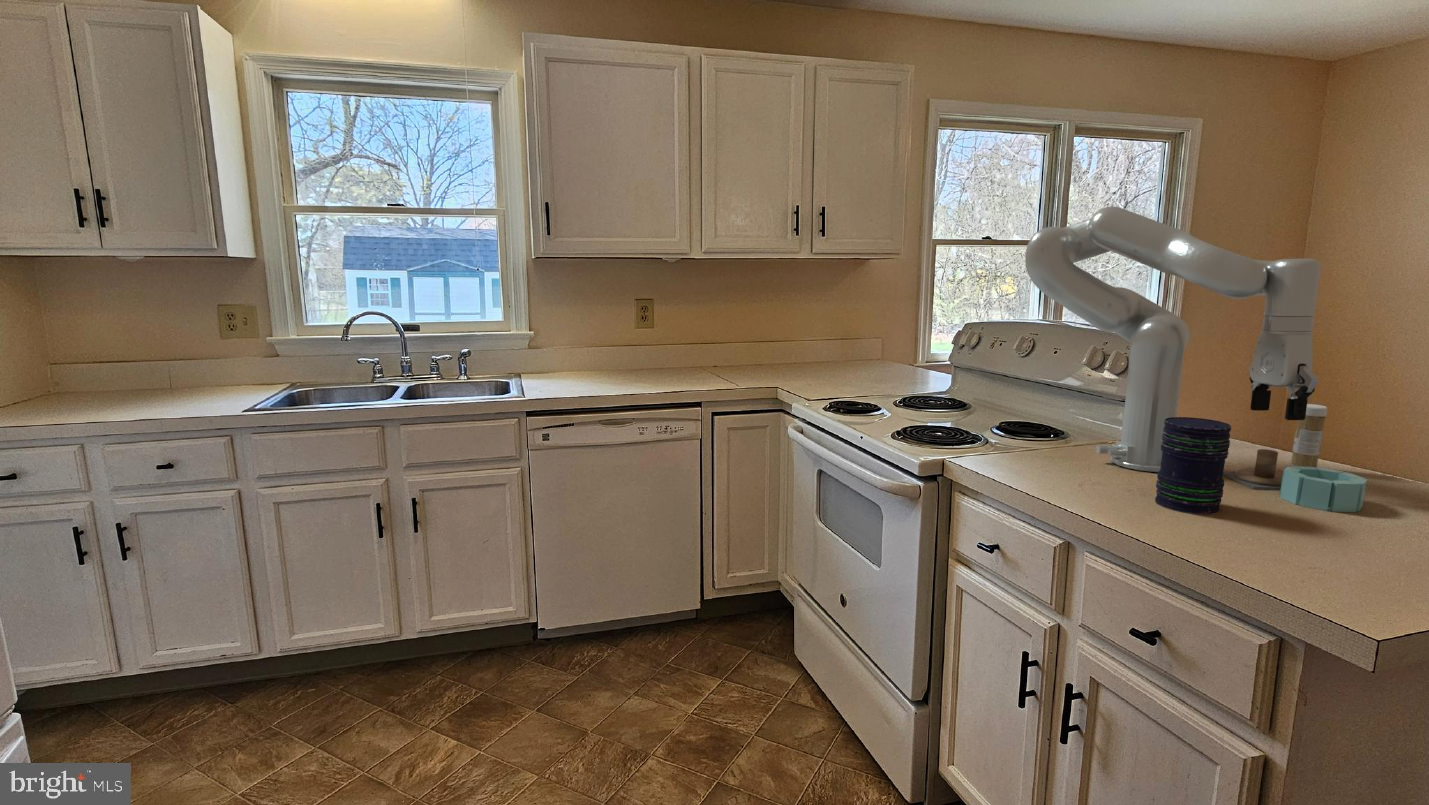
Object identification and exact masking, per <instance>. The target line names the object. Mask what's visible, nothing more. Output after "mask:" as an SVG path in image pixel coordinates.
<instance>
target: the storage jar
mask: <svg viewBox="0 0 1429 805" xmlns="http://www.w3.org/2000/svg"><path fill="white" fill-rule="evenodd" d="M1164 425H1165V427H1164V429H1163V432H1164V433H1163V434H1162V444H1161V450H1162V459H1161V467H1160V470H1159V471H1158V472H1157V474H1156V476H1157V479H1156V484H1155V488H1156V490H1155V493H1156V496H1155V498H1154V502H1155V504H1157V505H1158V506H1161V507H1162V508H1165V509H1168V510H1171V511H1175V512H1178V513H1185V514H1192V515H1215V514H1218V513H1220V512H1221V506H1220V504H1221V503H1222V498H1223V497H1224V496H1223V495H1224V486H1225V479H1224V475H1223V472H1225V464H1226V460H1227V458H1228V455H1229V449H1230V444H1231V440H1230V439H1231V433H1230V432H1231V431H1232V425H1231V424H1229V423H1227V422H1224V421H1220V420H1216V419H1207V418H1199V417H1187V416H1186V417H1185V416H1177V417H1171V418H1166V419H1165V421H1164Z"/></svg>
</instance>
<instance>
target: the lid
mask: <svg viewBox="0 0 1429 805" xmlns="http://www.w3.org/2000/svg"><path fill="white" fill-rule="evenodd" d="M1256 451H1257V452H1256V457H1255V463H1254V464H1255V465H1254V469H1238V470H1236V472H1235V473H1236V475H1235V477H1236V478H1238V479H1240V480H1242V481H1245V482H1249V483H1253V484H1258V485H1265V486H1274V487H1281V482H1282V476H1283V473H1282V474H1281V473H1276V469H1277V464H1278V463H1277V461H1278V457H1279V452H1278V451H1276V450H1272V449H1265V448H1261V449H1259V448H1258V449H1257V450H1256Z"/></svg>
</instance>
